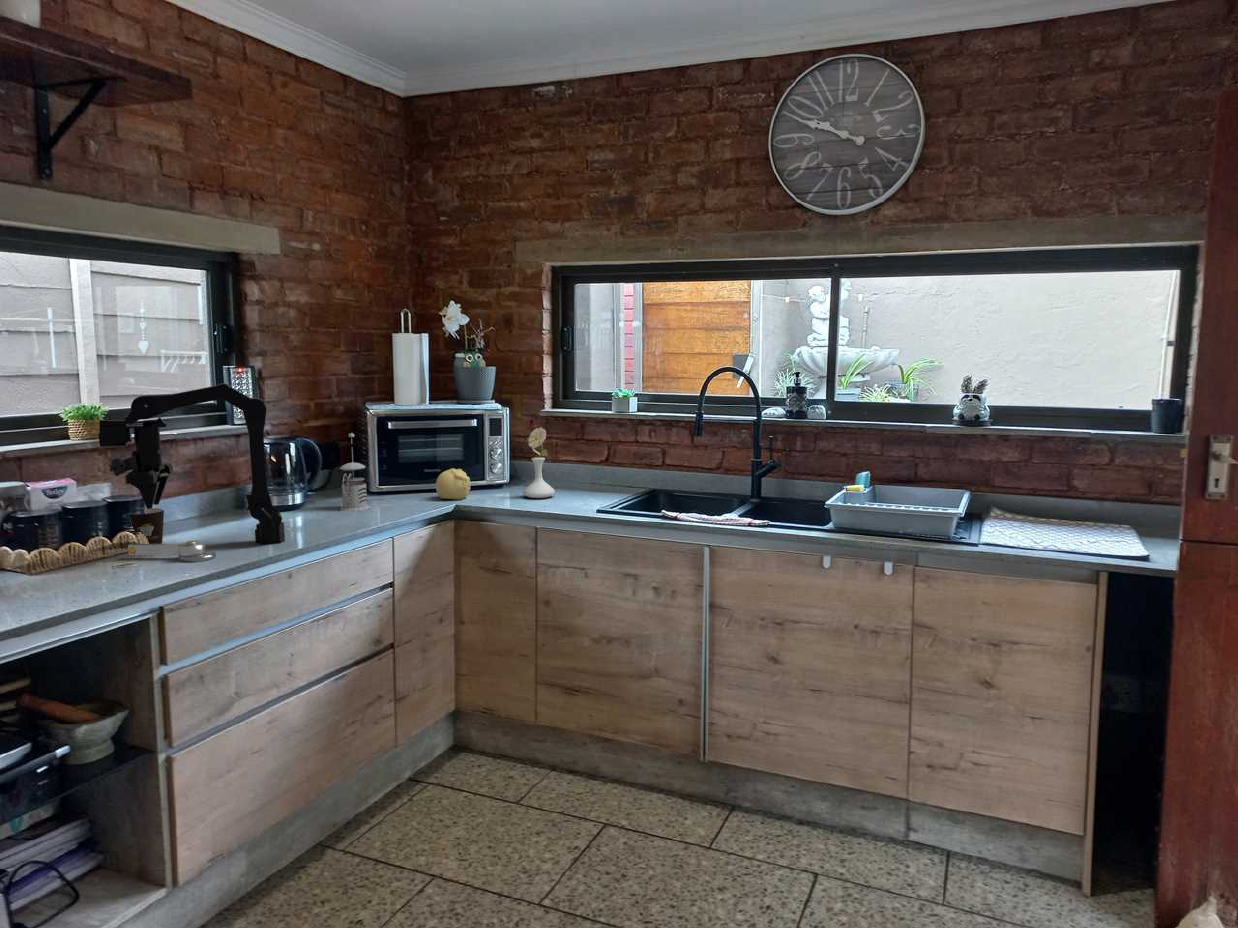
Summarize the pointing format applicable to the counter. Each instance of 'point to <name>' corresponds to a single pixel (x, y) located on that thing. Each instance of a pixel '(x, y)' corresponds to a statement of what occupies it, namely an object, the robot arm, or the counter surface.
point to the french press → (353, 488)
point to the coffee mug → (150, 524)
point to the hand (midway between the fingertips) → (152, 506)
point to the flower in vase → (538, 468)
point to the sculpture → (453, 484)
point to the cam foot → (175, 551)
